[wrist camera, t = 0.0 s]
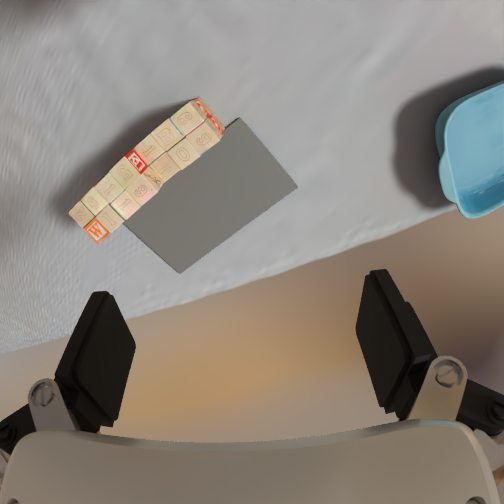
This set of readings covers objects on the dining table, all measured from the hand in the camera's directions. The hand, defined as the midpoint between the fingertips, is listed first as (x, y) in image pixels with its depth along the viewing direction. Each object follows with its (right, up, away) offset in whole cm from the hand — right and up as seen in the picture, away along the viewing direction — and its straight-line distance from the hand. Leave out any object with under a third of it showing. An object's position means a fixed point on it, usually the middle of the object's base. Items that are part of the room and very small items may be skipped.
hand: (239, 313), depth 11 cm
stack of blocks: (-14, +17, +33) cm, 40 cm away
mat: (-7, +10, +38) cm, 40 cm away
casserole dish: (+45, +25, +30) cm, 60 cm away
